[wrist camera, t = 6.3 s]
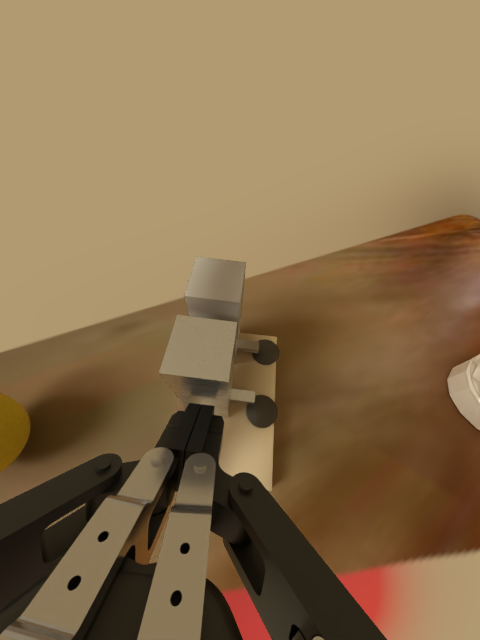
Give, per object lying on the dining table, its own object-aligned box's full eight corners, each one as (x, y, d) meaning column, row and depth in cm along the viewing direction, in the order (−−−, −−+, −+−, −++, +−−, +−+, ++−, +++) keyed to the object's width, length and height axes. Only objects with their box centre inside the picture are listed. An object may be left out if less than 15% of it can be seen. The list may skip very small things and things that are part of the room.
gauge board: (164, 474, 16) (93, 488, 8) (198, 333, 22) (180, 252, 14) (271, 489, 16) (322, 521, 7) (276, 342, 22) (307, 267, 14)
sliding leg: (189, 412, 17) (158, 373, 10) (197, 374, 19) (177, 314, 11) (251, 420, 17) (271, 387, 10) (255, 381, 19) (273, 326, 11)
